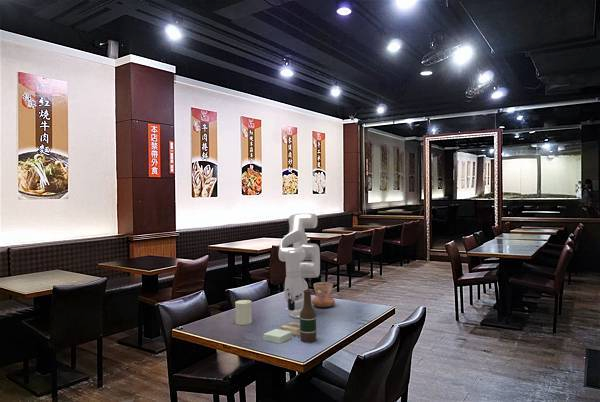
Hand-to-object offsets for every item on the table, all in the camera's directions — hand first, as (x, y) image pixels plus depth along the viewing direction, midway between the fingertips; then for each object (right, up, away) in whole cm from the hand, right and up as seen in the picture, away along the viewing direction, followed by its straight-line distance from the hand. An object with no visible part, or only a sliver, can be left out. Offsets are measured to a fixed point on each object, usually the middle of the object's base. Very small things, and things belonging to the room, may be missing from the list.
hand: (294, 308), depth 223 cm
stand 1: (-8, -12, -13) cm, 19 cm away
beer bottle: (+7, -12, -15) cm, 20 cm away
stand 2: (0, -12, -1) cm, 12 cm away
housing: (0, -1, 0) cm, 1 cm away
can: (-28, -12, +17) cm, 35 cm away
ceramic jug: (+18, -11, +51) cm, 55 cm away
